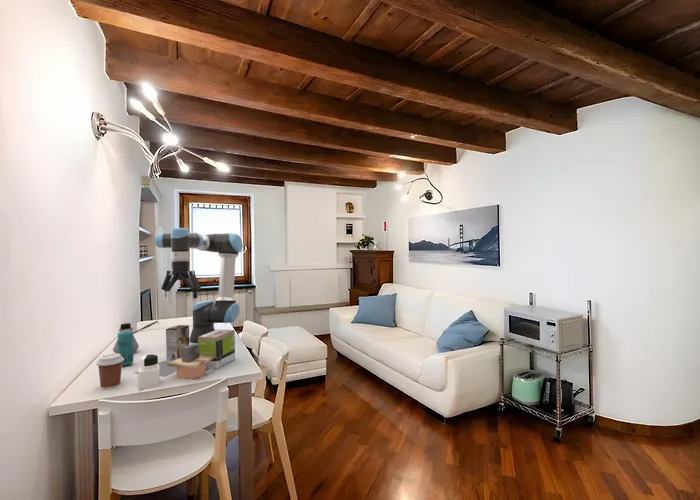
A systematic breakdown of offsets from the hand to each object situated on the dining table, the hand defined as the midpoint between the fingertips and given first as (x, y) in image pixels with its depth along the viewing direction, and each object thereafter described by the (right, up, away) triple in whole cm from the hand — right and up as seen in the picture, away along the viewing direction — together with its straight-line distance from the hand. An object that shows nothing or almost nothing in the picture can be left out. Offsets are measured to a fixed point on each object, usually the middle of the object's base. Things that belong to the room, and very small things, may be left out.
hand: (181, 305), depth 165 cm
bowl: (+12, -28, -16) cm, 34 cm away
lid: (+12, -22, -16) cm, 30 cm away
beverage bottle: (-24, -28, -4) cm, 37 cm away
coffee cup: (-15, -28, -27) cm, 42 cm away
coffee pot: (-34, -28, +21) cm, 49 cm away
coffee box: (-5, -28, +6) cm, 29 cm away
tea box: (+17, -28, -1) cm, 33 cm away
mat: (-4, -28, -8) cm, 29 cm away
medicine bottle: (0, -28, -27) cm, 39 cm away
